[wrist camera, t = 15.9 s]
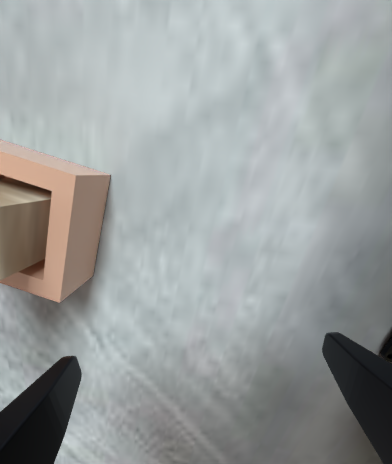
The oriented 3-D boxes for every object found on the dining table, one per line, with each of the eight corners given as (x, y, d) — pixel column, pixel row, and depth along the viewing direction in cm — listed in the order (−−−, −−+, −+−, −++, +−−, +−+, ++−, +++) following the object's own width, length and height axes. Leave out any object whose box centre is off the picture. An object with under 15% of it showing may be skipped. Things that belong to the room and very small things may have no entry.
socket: (110, 175, 18) (75, 175, 14) (92, 276, 21) (59, 302, 16) (0, 139, 18) (-68, 129, 14) (-2, 244, 21) (-60, 262, 17)
